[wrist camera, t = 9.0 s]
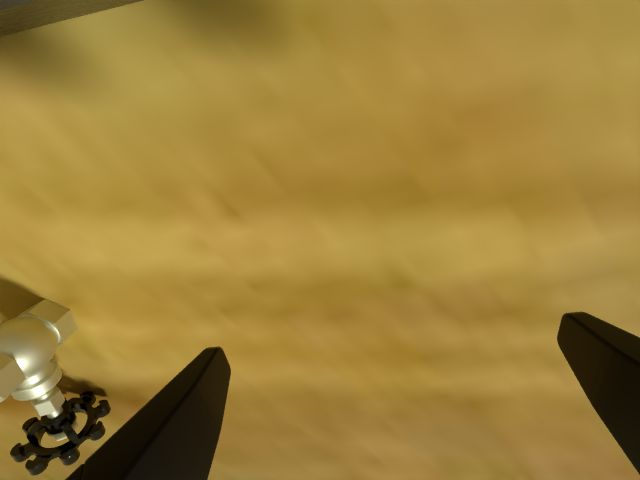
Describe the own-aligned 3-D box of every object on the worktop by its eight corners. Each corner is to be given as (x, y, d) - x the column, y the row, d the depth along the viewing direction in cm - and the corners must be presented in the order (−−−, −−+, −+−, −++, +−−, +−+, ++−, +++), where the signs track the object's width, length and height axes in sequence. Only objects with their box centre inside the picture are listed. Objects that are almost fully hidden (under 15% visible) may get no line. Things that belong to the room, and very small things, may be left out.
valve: (3, 293, 24) (59, 395, 30) (-103, 363, 18) (-9, 473, 24) (87, 298, 24) (127, 399, 30) (7, 369, 18) (75, 478, 24)
